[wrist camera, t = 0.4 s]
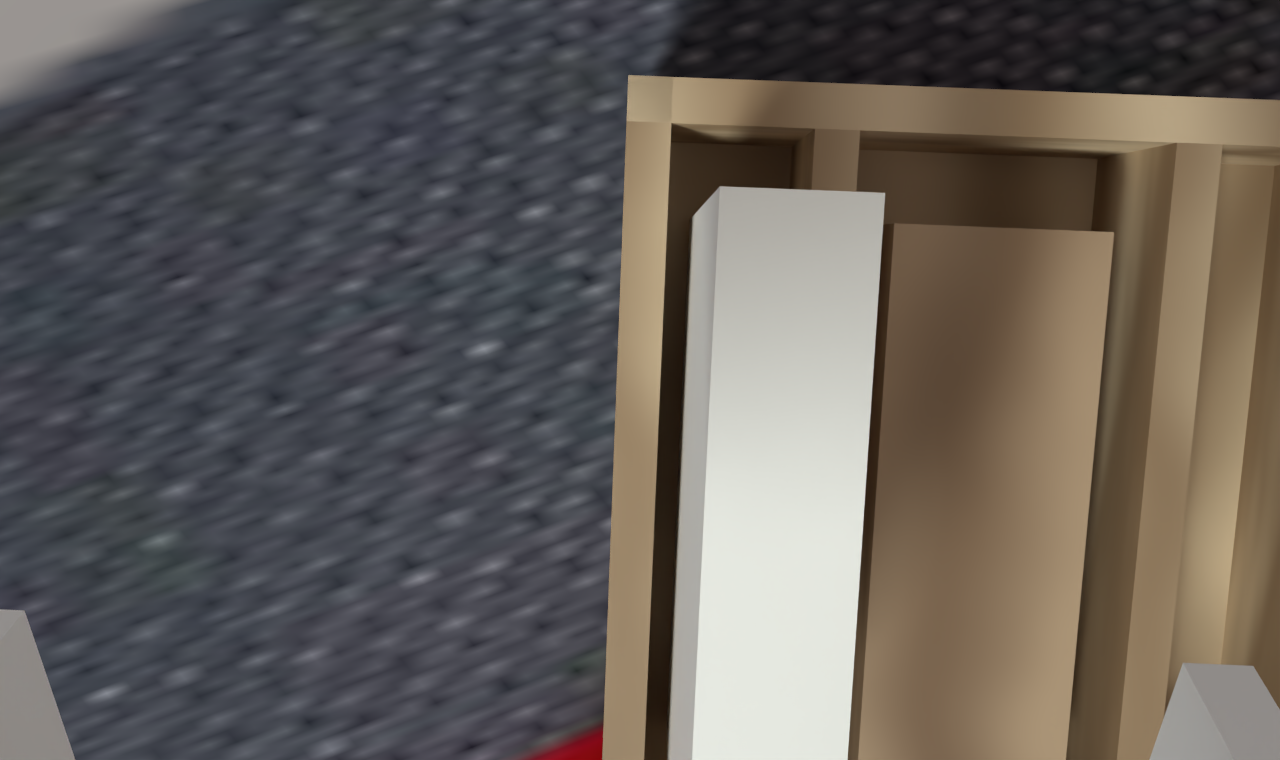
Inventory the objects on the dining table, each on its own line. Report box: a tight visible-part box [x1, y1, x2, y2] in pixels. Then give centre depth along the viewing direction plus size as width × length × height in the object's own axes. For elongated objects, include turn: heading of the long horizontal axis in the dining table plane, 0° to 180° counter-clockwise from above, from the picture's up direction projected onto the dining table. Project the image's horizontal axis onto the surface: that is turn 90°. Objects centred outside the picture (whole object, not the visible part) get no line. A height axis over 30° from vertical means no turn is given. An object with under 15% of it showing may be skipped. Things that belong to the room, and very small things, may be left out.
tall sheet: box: [667, 186, 885, 760], centre depth 22 cm, size 2×14×16 cm, turn 178°
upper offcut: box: [848, 223, 1114, 760], centre depth 27 cm, size 5×14×2 cm, turn 178°
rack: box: [602, 75, 1280, 760], centre depth 28 cm, size 18×20×6 cm
